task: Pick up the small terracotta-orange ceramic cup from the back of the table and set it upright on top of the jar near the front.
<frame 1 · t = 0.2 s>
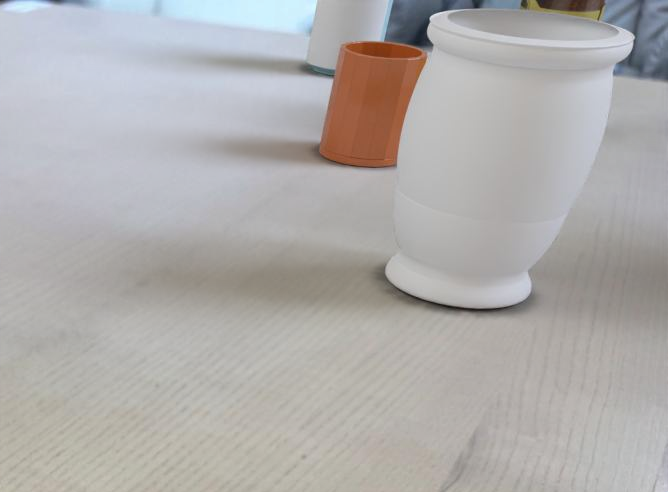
can: (339, 72, 122), on the table
jar: (454, 288, 74), on the table
sauce bottle: (523, 135, 104), on the table
cup: (359, 155, 97), on the table
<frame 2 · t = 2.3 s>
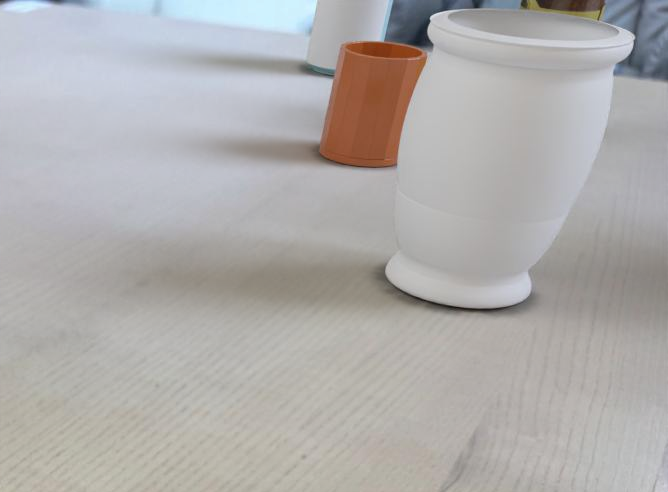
nothing on the table moved.
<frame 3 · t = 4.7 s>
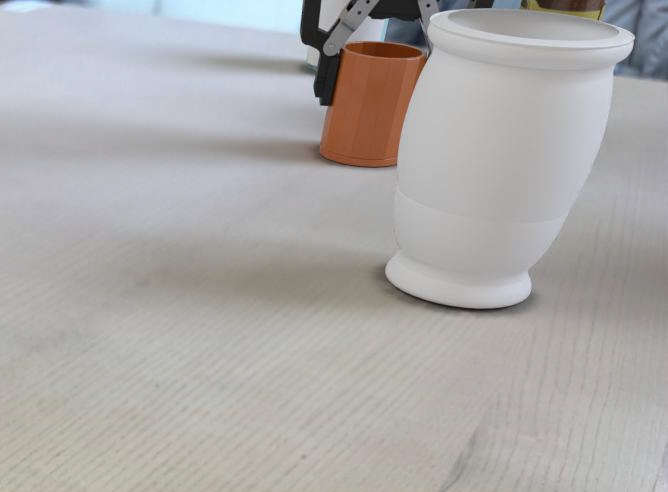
hand: (371, 106, 95), 4 cm above the table, tool pointing down, fingers closed on cup, 6 cm apart
cup: (359, 155, 97), on the table, touching gripper
everything else where it was.
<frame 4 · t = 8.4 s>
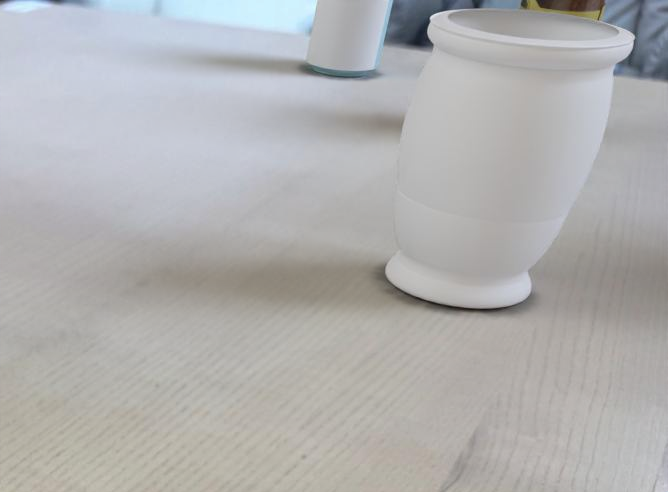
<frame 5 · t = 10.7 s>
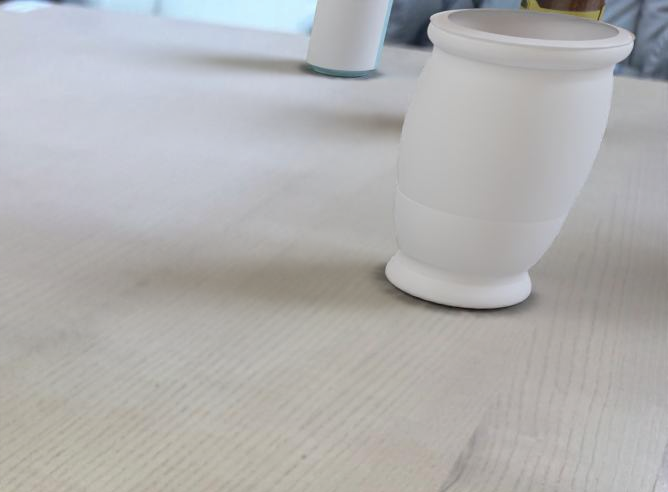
when the fingers open (19 cm above the table, at t = 12.5 s): cup stays where it is, resting on jar.
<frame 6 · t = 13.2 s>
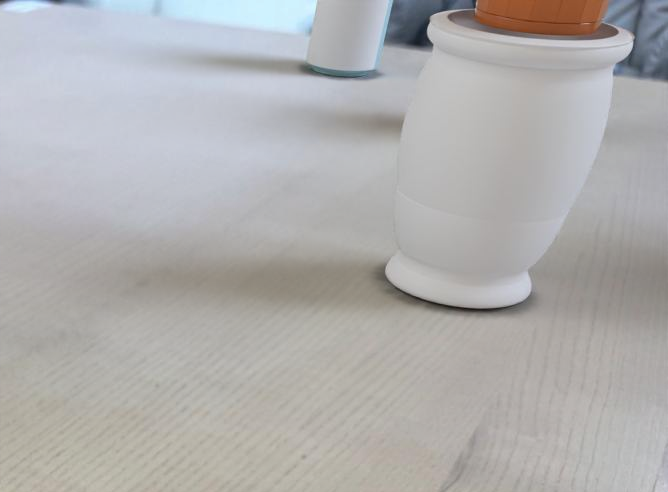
jar: (454, 288, 74), on the table, touching cup
cup: (535, 23, 66), point 15 cm above the table, touching jar
everything else where it was.
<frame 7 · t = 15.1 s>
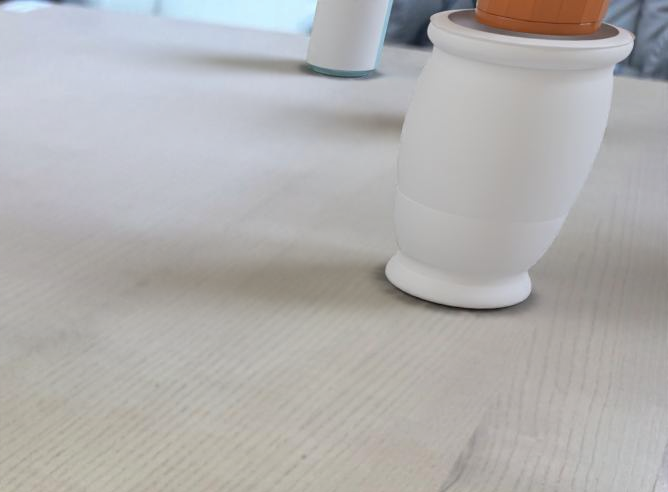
nothing on the table moved.
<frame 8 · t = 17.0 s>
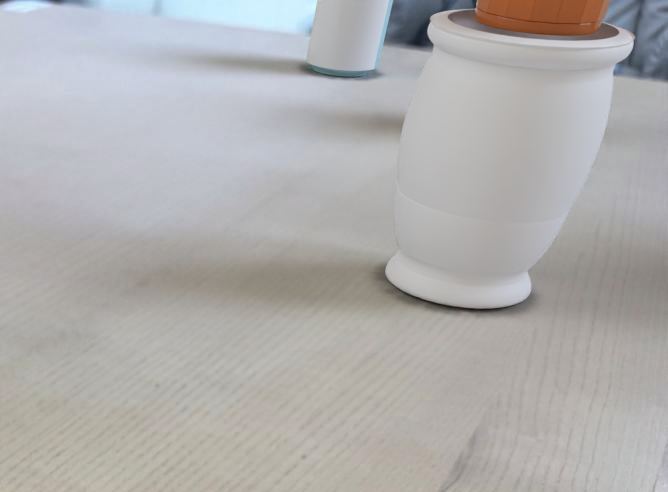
nothing on the table moved.
at the end: cup 0.2 cm off-centre on the jar, point 15.2 cm above the jar's base; cup tilted 0°; the gripper is holding nothing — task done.
